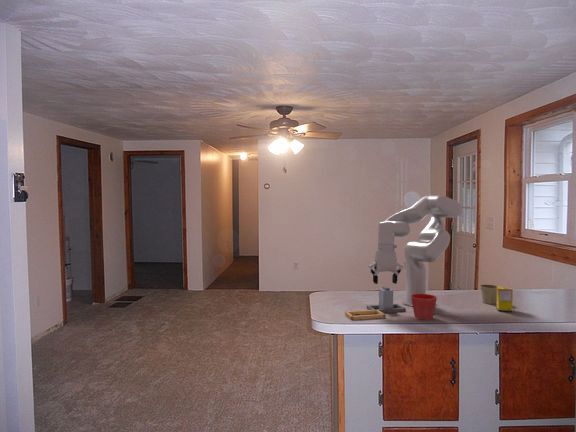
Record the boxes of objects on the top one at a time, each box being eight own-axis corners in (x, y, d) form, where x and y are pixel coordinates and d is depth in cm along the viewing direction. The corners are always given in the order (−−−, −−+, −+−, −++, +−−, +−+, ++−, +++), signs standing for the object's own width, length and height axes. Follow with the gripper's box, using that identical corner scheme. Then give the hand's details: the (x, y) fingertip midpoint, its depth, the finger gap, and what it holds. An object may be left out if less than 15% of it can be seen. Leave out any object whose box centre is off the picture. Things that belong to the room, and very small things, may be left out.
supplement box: (509, 309, 191) (510, 286, 191) (512, 312, 186) (512, 289, 185) (496, 308, 193) (496, 286, 193) (498, 311, 188) (498, 288, 187)
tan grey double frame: (397, 306, 196) (397, 303, 196) (414, 316, 180) (414, 312, 180) (339, 310, 190) (339, 307, 190) (351, 320, 174) (351, 316, 174)
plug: (388, 308, 193) (388, 286, 193) (393, 311, 188) (393, 288, 188) (378, 308, 192) (378, 286, 192) (383, 311, 187) (383, 288, 187)
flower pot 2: (479, 304, 201) (480, 287, 201) (478, 300, 210) (478, 283, 210) (500, 306, 198) (501, 288, 197) (498, 301, 206) (498, 285, 206)
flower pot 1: (407, 314, 183) (407, 293, 182) (430, 314, 183) (430, 293, 183) (416, 321, 172) (416, 299, 172) (440, 320, 173) (441, 298, 173)
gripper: (399, 246, 195) (398, 281, 195) (365, 246, 191) (364, 282, 191) (406, 248, 187) (405, 284, 188) (372, 248, 184) (371, 285, 184)
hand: (385, 283), depth 189 cm, fingers open, 9 cm apart
